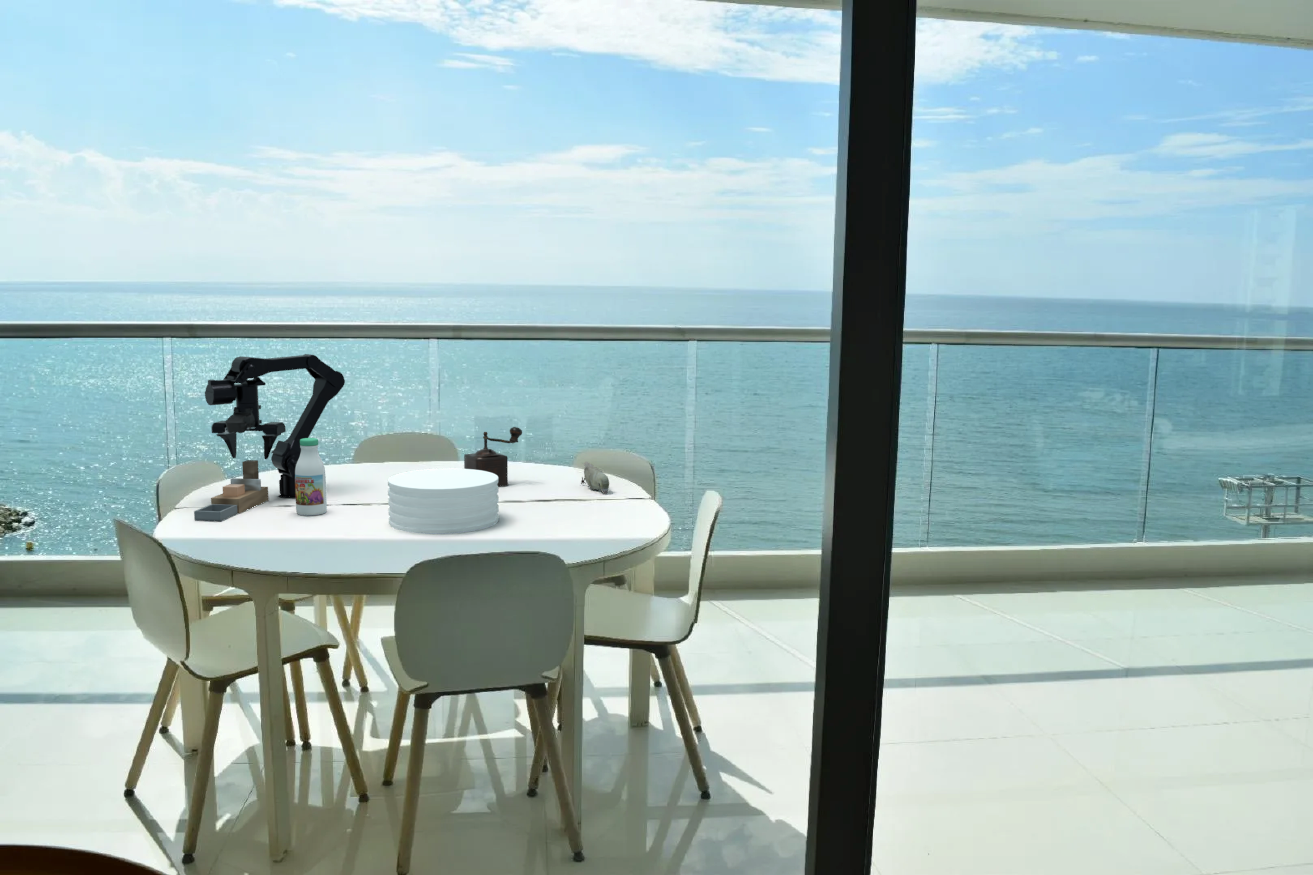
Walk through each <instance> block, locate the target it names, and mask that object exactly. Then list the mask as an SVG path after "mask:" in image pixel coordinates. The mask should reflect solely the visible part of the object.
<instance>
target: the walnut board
mask: <svg viewBox="0 0 1313 875" xmlns="http://www.w3.org/2000/svg"><path fill="white" fill-rule="evenodd" d="M269 500H270V499H269V486H261V490H260V491H251V490H245V494H242V495H240V496H238V497H237V496H223V492H222V493H220V494H218V495H215V496H212V497H211V498H210V505H211V504H224V505H237V513H238V514H237V515H239V514H242V513H244V512H247V511H248V510H247V509H249V510H251V509H253V508H255V507H254V506H256V505H258V506H260V505H262V504H264V503H263V502H265V501H267V502H269ZM261 503H262V504H261ZM265 503H266V502H265ZM252 507H253V508H252ZM256 507H257V506H256ZM246 510H247V511H246Z"/></svg>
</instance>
